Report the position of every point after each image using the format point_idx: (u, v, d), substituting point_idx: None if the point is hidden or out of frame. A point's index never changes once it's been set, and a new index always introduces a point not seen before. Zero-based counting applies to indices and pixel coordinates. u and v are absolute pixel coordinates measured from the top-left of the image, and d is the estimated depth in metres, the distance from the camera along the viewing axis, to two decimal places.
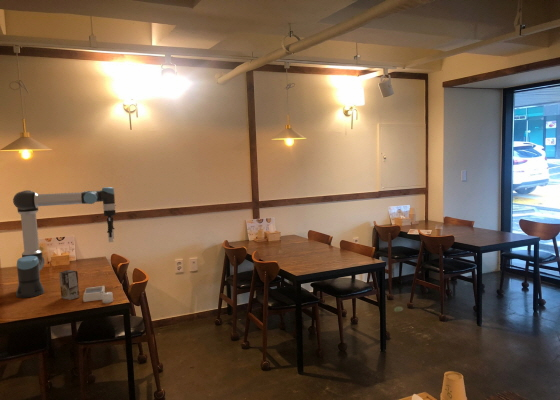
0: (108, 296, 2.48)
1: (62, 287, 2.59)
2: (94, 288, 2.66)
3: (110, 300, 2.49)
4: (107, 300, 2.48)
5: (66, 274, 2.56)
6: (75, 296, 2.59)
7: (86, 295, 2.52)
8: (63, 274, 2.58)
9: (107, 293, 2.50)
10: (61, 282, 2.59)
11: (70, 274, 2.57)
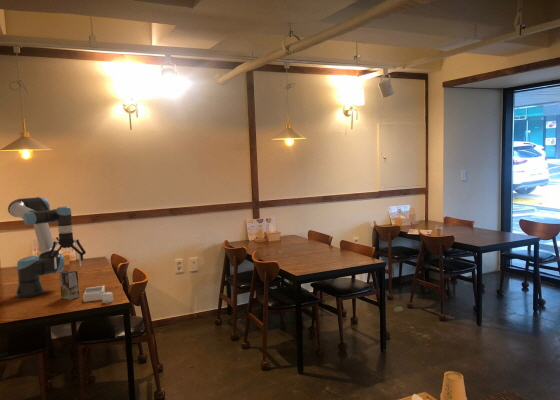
0: (108, 296, 2.48)
1: (62, 287, 2.59)
2: (94, 288, 2.66)
3: (110, 300, 2.49)
4: (107, 300, 2.48)
5: (66, 274, 2.56)
6: (75, 296, 2.59)
7: (86, 295, 2.52)
8: (63, 274, 2.58)
9: (107, 293, 2.50)
10: (61, 282, 2.59)
11: (70, 274, 2.57)
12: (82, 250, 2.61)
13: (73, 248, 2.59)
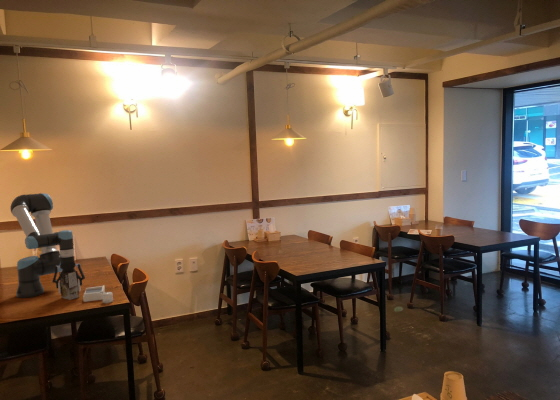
0: (108, 296, 2.48)
1: (62, 287, 2.59)
2: (94, 288, 2.66)
3: (110, 300, 2.49)
4: (107, 300, 2.48)
5: (66, 274, 2.56)
6: (75, 296, 2.59)
7: (86, 295, 2.52)
8: (63, 274, 2.58)
9: (107, 293, 2.50)
10: (61, 282, 2.59)
11: (70, 274, 2.57)
12: (82, 275, 2.62)
13: None
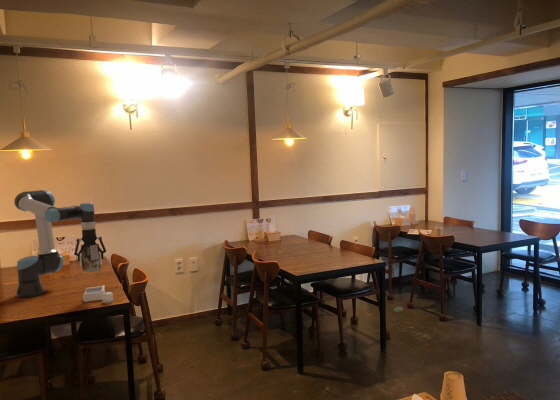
0: (108, 296, 2.48)
1: (83, 260, 2.57)
2: (94, 288, 2.66)
3: (110, 300, 2.49)
4: (107, 300, 2.48)
5: (88, 246, 2.54)
6: (97, 269, 2.57)
7: (86, 295, 2.52)
8: (85, 247, 2.55)
9: (107, 293, 2.50)
10: (82, 255, 2.57)
11: (92, 246, 2.54)
12: (103, 248, 2.59)
13: None
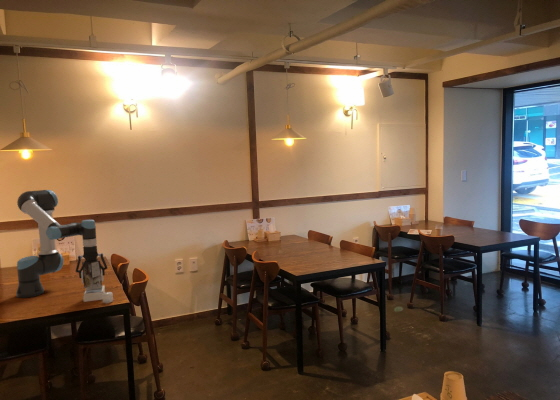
0: (108, 296, 2.48)
1: (85, 277, 2.57)
2: None
3: (110, 300, 2.49)
4: (107, 300, 2.48)
5: (89, 264, 2.54)
6: (98, 286, 2.58)
7: (86, 295, 2.52)
8: (86, 264, 2.56)
9: (107, 293, 2.50)
10: (84, 272, 2.58)
11: (93, 264, 2.55)
12: (104, 265, 2.60)
13: None
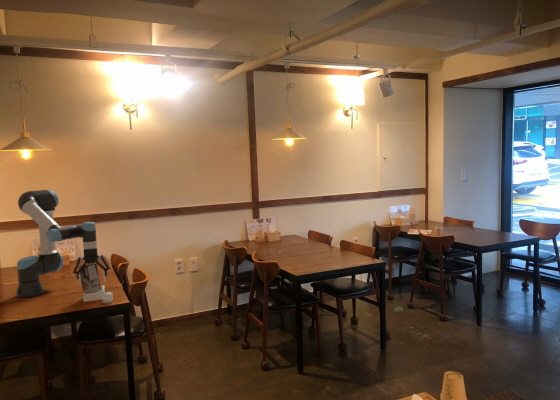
0: (108, 296, 2.48)
1: (83, 281, 2.58)
2: None
3: (110, 300, 2.49)
4: (107, 300, 2.48)
5: (85, 267, 2.55)
6: (97, 289, 2.58)
7: (86, 295, 2.52)
8: (83, 268, 2.56)
9: (107, 293, 2.50)
10: (81, 276, 2.58)
11: (89, 267, 2.55)
12: (106, 266, 2.60)
13: None
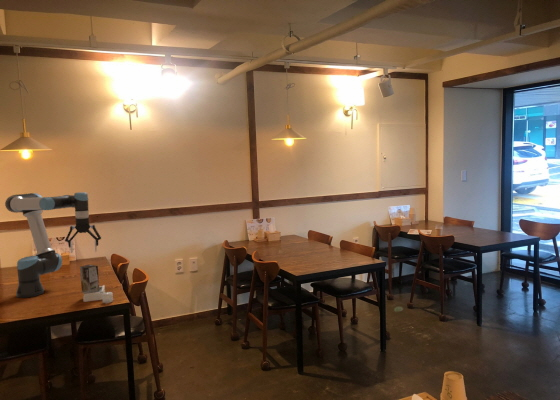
0: (108, 296, 2.48)
1: (83, 282, 2.58)
2: None
3: (110, 300, 2.49)
4: (107, 300, 2.48)
5: (86, 269, 2.54)
6: (95, 291, 2.58)
7: (86, 295, 2.52)
8: (84, 268, 2.56)
9: (107, 293, 2.50)
10: (82, 277, 2.58)
11: (90, 269, 2.55)
12: (98, 235, 2.66)
13: (89, 233, 2.65)
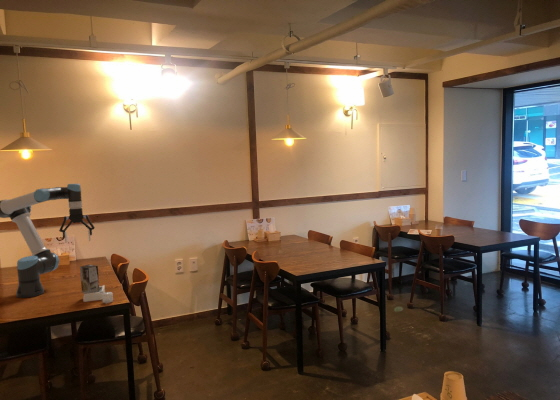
0: (108, 296, 2.48)
1: (83, 282, 2.58)
2: None
3: (110, 300, 2.49)
4: (107, 300, 2.48)
5: (86, 269, 2.54)
6: (95, 291, 2.58)
7: (86, 295, 2.52)
8: (84, 268, 2.56)
9: (107, 293, 2.50)
10: (82, 277, 2.58)
11: (90, 269, 2.55)
12: (91, 225, 2.75)
13: (83, 223, 2.73)
